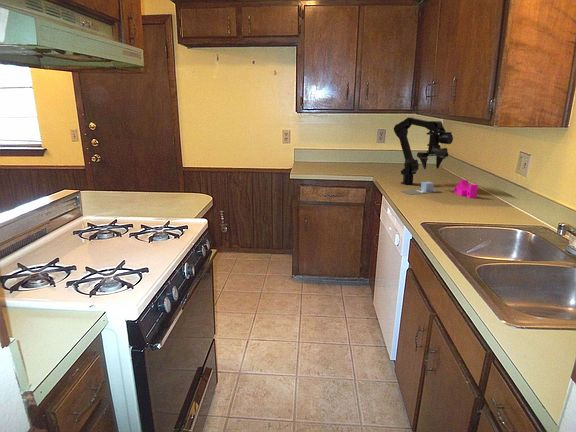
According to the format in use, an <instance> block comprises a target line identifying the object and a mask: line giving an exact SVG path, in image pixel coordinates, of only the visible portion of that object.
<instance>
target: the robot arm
mask: <svg viewBox="0 0 576 432" xmlns="http://www.w3.org/2000/svg"><path fill="white" fill-rule="evenodd" d="M412 125H413V126H418V127H422V128H425V129H426V130H427V131H428V132H426V135H428V136H429V139H428V144H427V145H426V146H427V150H426V151H418V152H417V153H416V157H417V158H418V159H420V162H421V164H422V168H423V170H426V169H427V164H428V163H427V162H428V160H429V157H434V156H435V160H436V161H435V162H436V163H435V167H436V169H437V170H438V169H439V168H440V166H441V163H442V162H443V160H445V159H447V158H448V157H449V152H448V148H447V147H443V148H442V147H441V144H442V145H451V144H452V143H453V140H454V136H453V134H452V131H451V132H450V131H448V132H447V131H446V129H445V128H444V125H443V122H442V121H440V120H425V119H419V118H416V117H413V116H412V117H407V118H405V119H404V120H402V121H400V122H399V123H397V124H395V125H394V127H393V132H394V134H395V136H396V137H397V138H398V140H399V143H400V146H401V149H402V153H403V156H404V163H403V164H404V165H403V166H404V168H403V169H402V170H400V175H402V176H403V177H402V181H401V182H400V184H403V185H405V186H406V185H408V186H409V185H415V182H414V175H416V173H417V171H418V170H419V169H420V167H419V166H420V165H419V161H418V159H415V158H414V157H413V153H412V150H411V146H410V142H409V139H408V134H409V133H408V132H409V131H408V130H409V129H410V128H411V126H412Z"/></svg>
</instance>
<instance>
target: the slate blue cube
mask: <svg viewBox="0 0 576 432" xmlns="http://www.w3.org/2000/svg"><path fill="white" fill-rule="evenodd" d="M434 186H435V183H434V182H431V181H420V189H421V191H424V192H433V189H434Z"/></svg>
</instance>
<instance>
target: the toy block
mask: <svg viewBox="0 0 576 432" xmlns="http://www.w3.org/2000/svg"><path fill="white" fill-rule="evenodd" d="M478 189H479V184H474V183H473V184H469V180H467V179H459V183H458V184H454V189H453V192H454V193H456V194H457V195H458V196H461V197H467V198H469V199H477V197H478V196H477V195H478Z"/></svg>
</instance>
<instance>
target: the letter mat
mask: <svg viewBox="0 0 576 432" xmlns="http://www.w3.org/2000/svg"><path fill="white" fill-rule="evenodd" d="M400 192H401V193H404V194H407V195H422V194H424V195H425V194H433V193H437V194H438V193H443V191H442V190H439V189H436V188H433V192H424V191H421V188H420V189H407V190H400Z"/></svg>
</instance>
